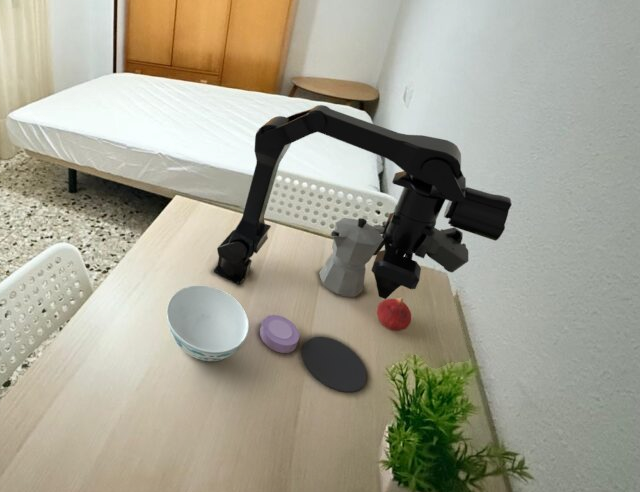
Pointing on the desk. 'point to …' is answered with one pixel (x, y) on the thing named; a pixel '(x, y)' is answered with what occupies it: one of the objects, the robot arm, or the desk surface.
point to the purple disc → (279, 333)
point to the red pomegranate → (394, 314)
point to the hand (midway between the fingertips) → (386, 282)
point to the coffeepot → (351, 255)
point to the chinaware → (207, 322)
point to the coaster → (334, 364)
